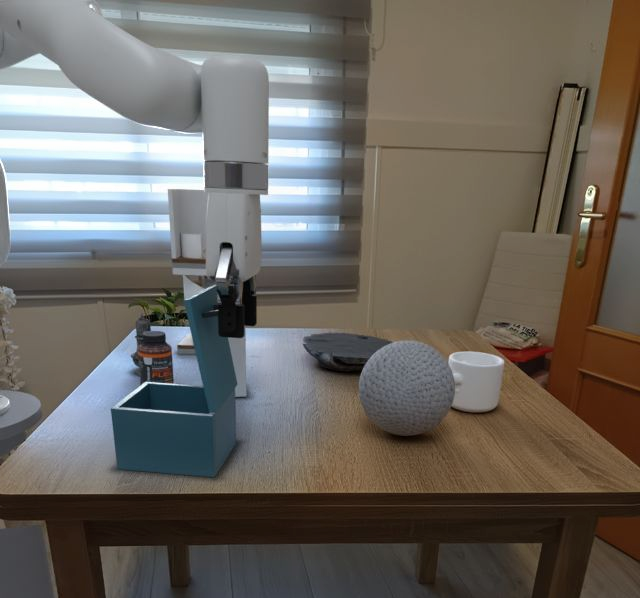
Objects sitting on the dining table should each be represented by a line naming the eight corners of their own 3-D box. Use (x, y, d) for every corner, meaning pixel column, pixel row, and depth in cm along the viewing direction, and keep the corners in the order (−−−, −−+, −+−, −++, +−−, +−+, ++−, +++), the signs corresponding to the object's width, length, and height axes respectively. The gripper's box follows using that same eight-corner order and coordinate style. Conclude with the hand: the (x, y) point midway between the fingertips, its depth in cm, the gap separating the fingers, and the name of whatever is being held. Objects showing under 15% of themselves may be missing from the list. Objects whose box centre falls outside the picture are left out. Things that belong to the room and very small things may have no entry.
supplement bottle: (155, 400, 103) (150, 338, 99) (134, 393, 106) (128, 332, 102) (181, 392, 107) (177, 333, 103) (160, 385, 111) (156, 327, 106)
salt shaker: (146, 377, 115) (141, 318, 110) (125, 372, 117) (120, 314, 113) (167, 370, 119) (163, 313, 115) (147, 366, 122) (142, 309, 117)
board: (354, 347, 143) (356, 327, 141) (419, 369, 127) (422, 346, 125) (281, 359, 130) (281, 337, 128) (343, 386, 114) (344, 361, 112)
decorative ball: (360, 411, 101) (366, 327, 95) (446, 419, 99) (457, 334, 93) (351, 446, 88) (357, 350, 82) (451, 456, 85) (464, 358, 80)
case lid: (183, 300, 68) (222, 295, 67) (211, 285, 79) (245, 281, 78) (209, 413, 73) (245, 409, 72) (232, 385, 84) (264, 381, 83)
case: (117, 469, 78) (110, 408, 74) (150, 435, 88) (145, 381, 85) (214, 477, 77) (212, 416, 73) (236, 442, 87) (235, 387, 84)
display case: (188, 341, 142) (180, 189, 129) (231, 343, 142) (227, 190, 129) (177, 353, 132) (167, 189, 118) (223, 355, 132) (219, 190, 119)
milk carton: (241, 385, 112) (239, 286, 105) (246, 397, 106) (245, 293, 99) (204, 387, 111) (200, 287, 103) (207, 399, 104) (203, 294, 97)
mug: (425, 395, 111) (430, 349, 107) (472, 391, 114) (478, 347, 110) (457, 417, 100) (464, 367, 97) (507, 413, 103) (516, 364, 100)
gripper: (224, 180, 76) (227, 315, 83) (180, 177, 60) (188, 345, 67) (280, 182, 75) (278, 319, 82) (250, 180, 59) (251, 349, 66)
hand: (238, 329), depth 74 cm, fingers closed on case lid, 6 cm apart
